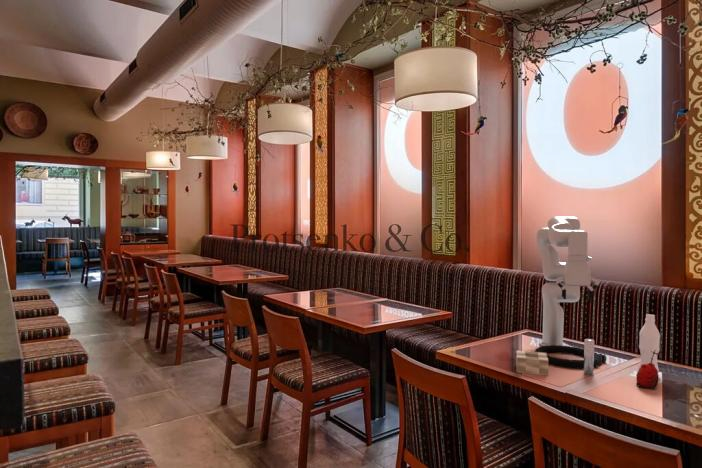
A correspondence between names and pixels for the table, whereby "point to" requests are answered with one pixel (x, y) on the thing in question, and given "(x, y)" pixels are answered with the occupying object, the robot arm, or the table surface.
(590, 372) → the peg
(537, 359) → the cream rectangular block
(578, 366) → the cable lock
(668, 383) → the table surface
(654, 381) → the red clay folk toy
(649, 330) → the water bottle
